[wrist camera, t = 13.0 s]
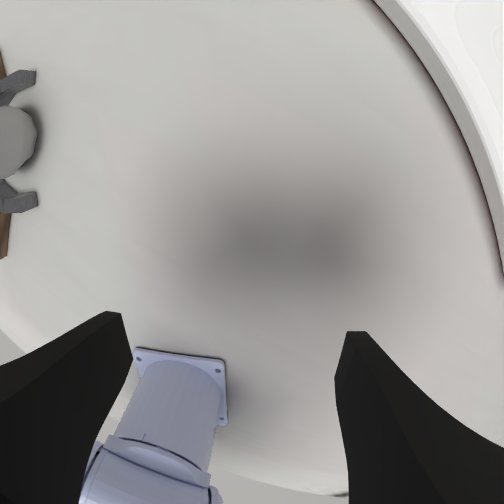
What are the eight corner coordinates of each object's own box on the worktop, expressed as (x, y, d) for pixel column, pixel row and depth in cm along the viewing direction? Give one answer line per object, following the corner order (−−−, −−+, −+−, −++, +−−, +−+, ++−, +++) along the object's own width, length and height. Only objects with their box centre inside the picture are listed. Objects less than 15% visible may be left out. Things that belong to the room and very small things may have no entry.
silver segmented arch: (38, 206, 19) (22, 212, 17) (-5, 208, 19) (-19, 214, 17) (35, 71, 14) (19, 69, 12) (-9, 94, 15) (-23, 94, 13)
